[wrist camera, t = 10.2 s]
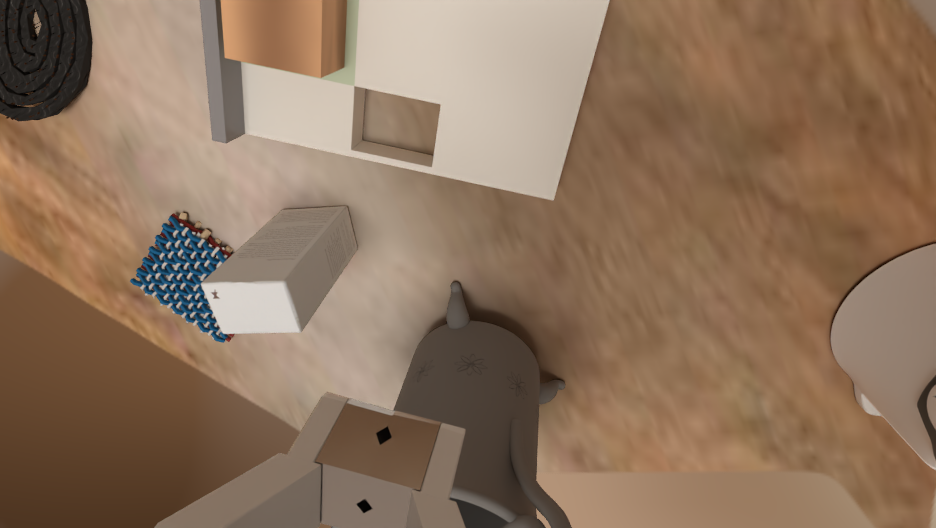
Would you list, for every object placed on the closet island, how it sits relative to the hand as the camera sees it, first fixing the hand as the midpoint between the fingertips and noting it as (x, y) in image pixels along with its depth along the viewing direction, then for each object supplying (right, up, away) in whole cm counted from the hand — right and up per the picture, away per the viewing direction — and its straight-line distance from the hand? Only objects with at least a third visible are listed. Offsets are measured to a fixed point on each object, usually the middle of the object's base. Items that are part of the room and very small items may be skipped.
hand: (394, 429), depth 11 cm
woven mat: (-23, +2, +38) cm, 44 cm away
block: (-9, +20, +22) cm, 31 cm away
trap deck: (-2, +19, +24) cm, 31 cm away
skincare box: (-11, +6, +33) cm, 35 cm away
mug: (+3, -5, +37) cm, 37 cm away
